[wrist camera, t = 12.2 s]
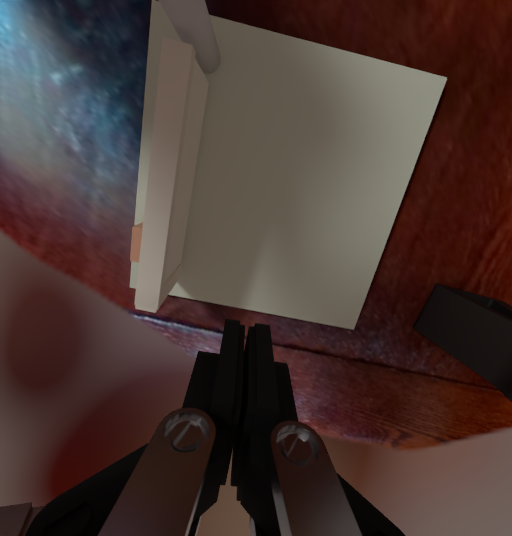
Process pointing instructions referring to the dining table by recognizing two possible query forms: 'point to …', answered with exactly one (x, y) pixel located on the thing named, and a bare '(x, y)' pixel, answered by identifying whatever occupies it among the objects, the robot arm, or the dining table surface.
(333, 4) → the dining table surface
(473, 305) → the phone stand
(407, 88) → the base
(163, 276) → the gate
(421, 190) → the dining table surface
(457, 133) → the dining table surface
